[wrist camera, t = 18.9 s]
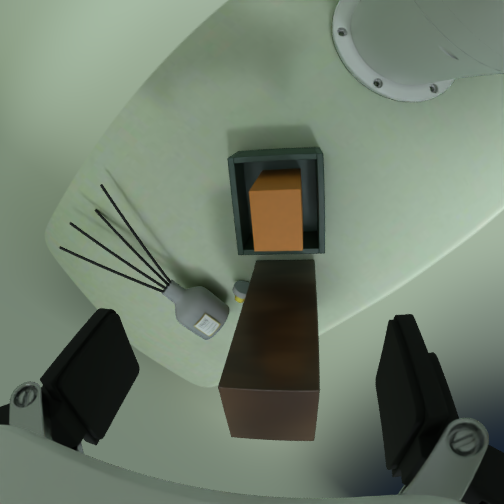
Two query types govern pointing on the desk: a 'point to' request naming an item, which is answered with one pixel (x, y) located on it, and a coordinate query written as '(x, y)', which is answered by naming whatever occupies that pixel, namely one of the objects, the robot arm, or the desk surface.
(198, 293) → the reed diffuser
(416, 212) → the desk surface
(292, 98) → the desk surface
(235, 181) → the bin
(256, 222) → the orange block
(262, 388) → the stand
